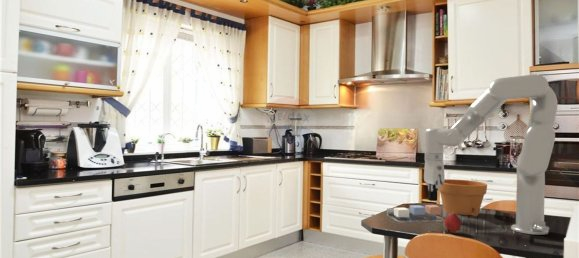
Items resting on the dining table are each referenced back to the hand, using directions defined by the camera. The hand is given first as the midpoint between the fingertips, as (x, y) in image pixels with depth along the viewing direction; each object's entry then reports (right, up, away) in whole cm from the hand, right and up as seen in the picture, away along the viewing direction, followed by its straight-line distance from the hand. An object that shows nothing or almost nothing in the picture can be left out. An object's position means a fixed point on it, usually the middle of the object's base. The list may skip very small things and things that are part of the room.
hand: (432, 200), depth 182 cm
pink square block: (0, -6, 0) cm, 6 cm away
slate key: (-7, -5, -1) cm, 9 cm away
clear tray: (-7, -9, -1) cm, 11 cm away
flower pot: (+18, -9, +15) cm, 25 cm away
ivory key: (-14, -6, -2) cm, 15 cm away
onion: (+1, -9, -20) cm, 22 cm away
